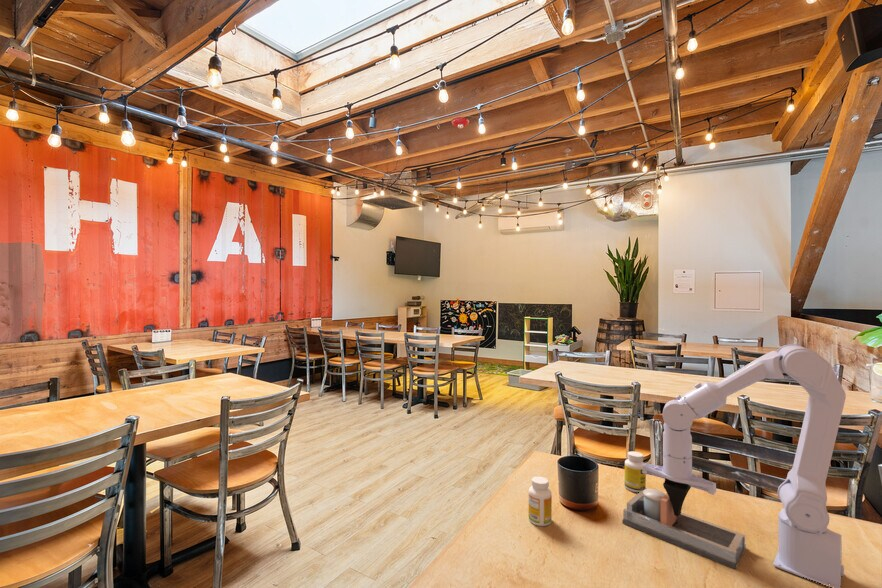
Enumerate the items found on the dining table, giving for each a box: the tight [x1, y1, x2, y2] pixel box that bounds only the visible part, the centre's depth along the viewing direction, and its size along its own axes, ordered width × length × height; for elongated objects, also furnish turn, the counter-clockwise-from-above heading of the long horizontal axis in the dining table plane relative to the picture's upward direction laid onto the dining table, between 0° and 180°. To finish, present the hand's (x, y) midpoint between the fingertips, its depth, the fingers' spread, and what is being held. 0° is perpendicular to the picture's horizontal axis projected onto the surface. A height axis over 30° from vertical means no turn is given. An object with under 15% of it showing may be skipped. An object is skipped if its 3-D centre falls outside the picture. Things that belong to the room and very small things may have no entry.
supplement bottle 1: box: [528, 476, 553, 527], centre depth 96 cm, size 5×5×10 cm
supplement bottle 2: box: [623, 450, 647, 493], centre depth 113 cm, size 5×5×10 cm
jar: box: [643, 488, 667, 522], centre depth 95 cm, size 5×5×6 cm
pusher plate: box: [661, 493, 676, 526], centre depth 93 cm, size 1×6×7 cm, turn 133°
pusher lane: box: [621, 491, 747, 570], centre depth 91 cm, size 22×10×5 cm, turn 43°
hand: (677, 514), depth 91 cm, fingers closed
